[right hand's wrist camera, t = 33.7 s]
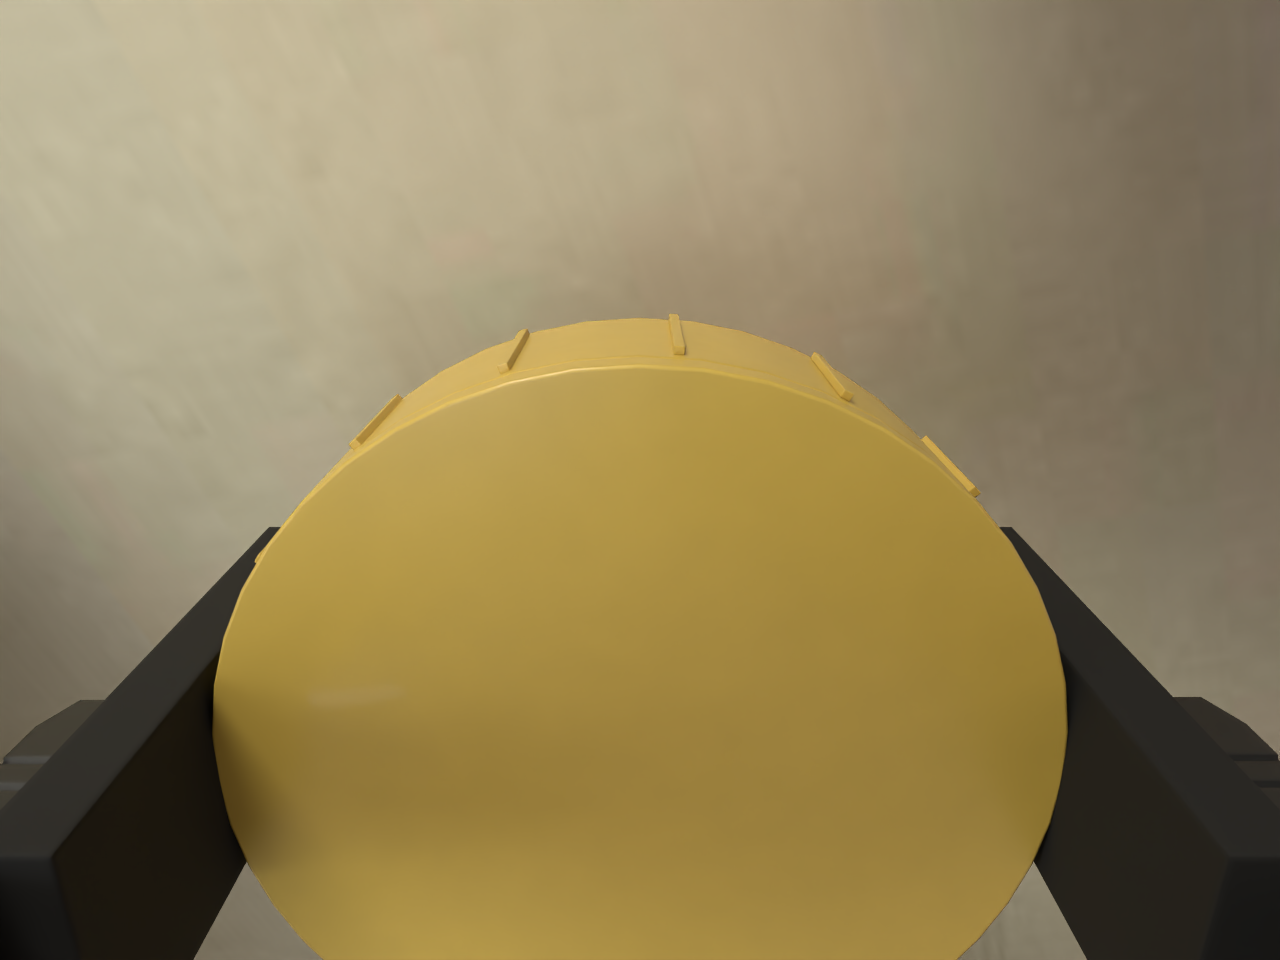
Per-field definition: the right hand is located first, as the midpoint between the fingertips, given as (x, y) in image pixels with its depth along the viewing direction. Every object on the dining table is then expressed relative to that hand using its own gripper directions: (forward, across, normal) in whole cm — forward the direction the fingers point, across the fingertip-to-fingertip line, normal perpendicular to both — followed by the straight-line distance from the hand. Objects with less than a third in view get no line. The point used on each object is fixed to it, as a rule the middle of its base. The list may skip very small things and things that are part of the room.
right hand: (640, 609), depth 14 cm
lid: (-4, 0, 0) cm, 4 cm away
